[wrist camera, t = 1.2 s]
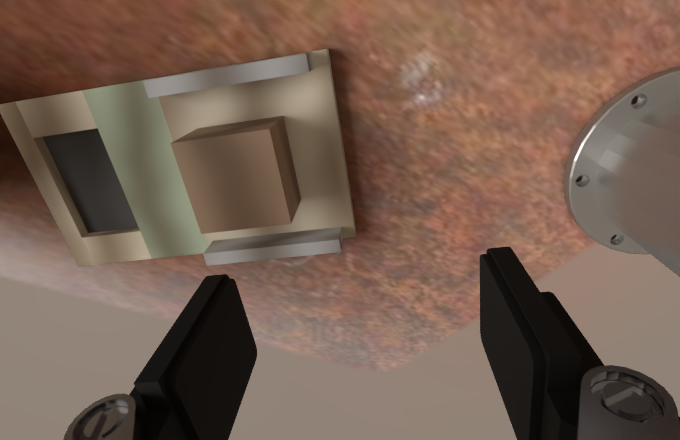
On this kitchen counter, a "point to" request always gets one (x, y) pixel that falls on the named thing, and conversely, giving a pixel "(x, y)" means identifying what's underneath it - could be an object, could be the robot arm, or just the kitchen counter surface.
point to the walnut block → (239, 175)
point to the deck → (162, 169)
